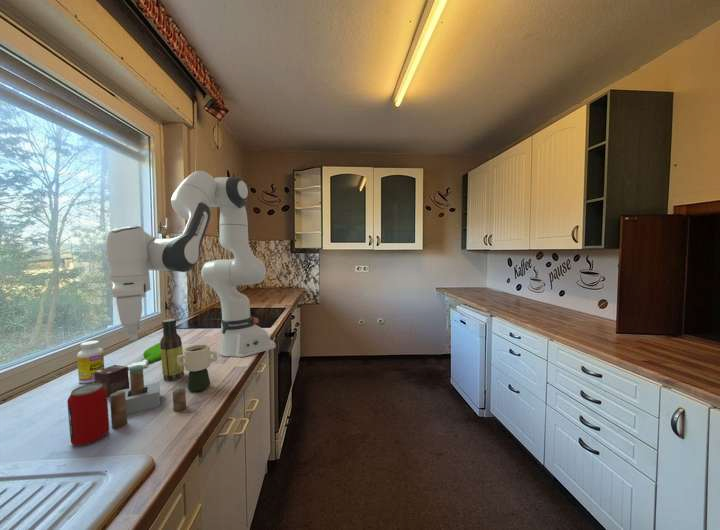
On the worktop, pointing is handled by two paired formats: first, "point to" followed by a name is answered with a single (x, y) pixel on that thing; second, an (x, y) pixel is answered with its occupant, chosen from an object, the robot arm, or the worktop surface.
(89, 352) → the supplement bottle
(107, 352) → the worktop surface
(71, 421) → the beverage can
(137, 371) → the long pin
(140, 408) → the socket block
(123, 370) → the box
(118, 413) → the medium pin
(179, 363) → the character mug
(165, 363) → the sauce bottle
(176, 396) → the short pin
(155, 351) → the spray bottle
